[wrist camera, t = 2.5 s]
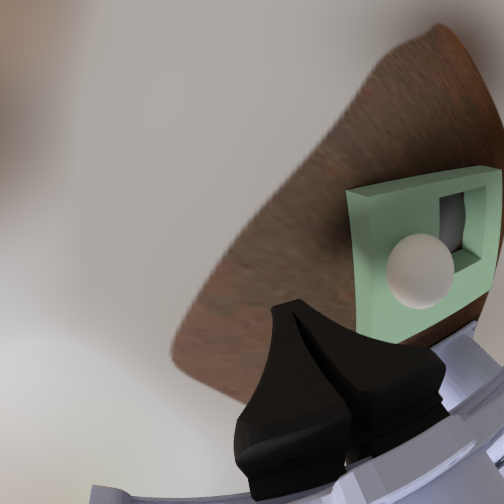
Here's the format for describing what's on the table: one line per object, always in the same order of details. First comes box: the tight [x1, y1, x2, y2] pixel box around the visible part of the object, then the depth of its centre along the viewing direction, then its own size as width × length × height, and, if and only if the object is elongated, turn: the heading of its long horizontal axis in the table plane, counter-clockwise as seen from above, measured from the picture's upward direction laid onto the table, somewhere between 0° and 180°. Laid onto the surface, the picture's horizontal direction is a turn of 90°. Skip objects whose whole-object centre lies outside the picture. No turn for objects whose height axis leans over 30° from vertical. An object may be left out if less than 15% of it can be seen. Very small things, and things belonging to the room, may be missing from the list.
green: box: [346, 165, 502, 344], centre depth 16 cm, size 11×14×2 cm
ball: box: [386, 233, 454, 309], centre depth 12 cm, size 4×4×4 cm
